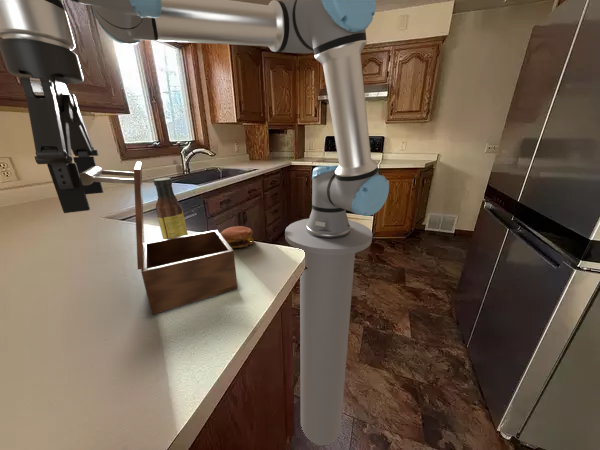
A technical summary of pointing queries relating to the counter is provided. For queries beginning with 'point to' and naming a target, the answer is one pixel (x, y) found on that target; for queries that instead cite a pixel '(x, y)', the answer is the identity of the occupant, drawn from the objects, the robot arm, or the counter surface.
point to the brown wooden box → (187, 269)
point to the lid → (94, 176)
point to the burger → (238, 236)
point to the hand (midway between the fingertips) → (87, 201)
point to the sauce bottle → (169, 210)
